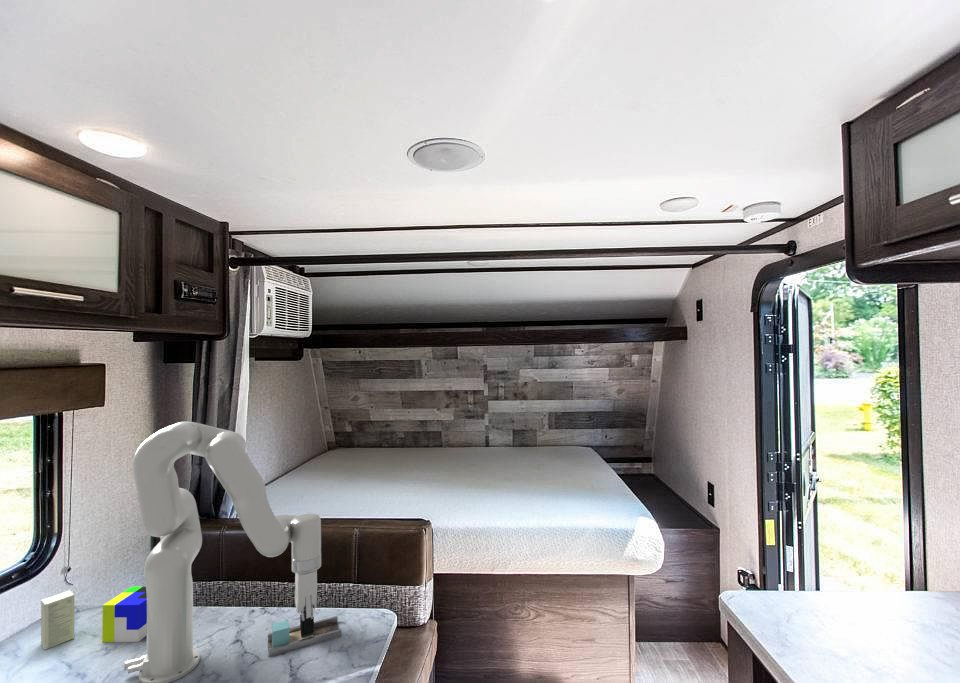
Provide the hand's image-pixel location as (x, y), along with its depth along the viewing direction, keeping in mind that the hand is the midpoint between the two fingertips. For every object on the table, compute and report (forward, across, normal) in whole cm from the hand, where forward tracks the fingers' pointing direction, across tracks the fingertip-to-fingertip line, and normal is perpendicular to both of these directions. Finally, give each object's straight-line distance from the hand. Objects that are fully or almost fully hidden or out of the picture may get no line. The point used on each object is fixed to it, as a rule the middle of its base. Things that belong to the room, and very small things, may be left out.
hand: (306, 630), depth 122 cm
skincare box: (+3, -32, -62) cm, 69 cm away
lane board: (+3, 0, 0) cm, 3 cm away
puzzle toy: (+3, -28, -44) cm, 52 cm away
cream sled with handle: (+2, 0, -4) cm, 4 cm away
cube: (+1, 0, -6) cm, 7 cm away
